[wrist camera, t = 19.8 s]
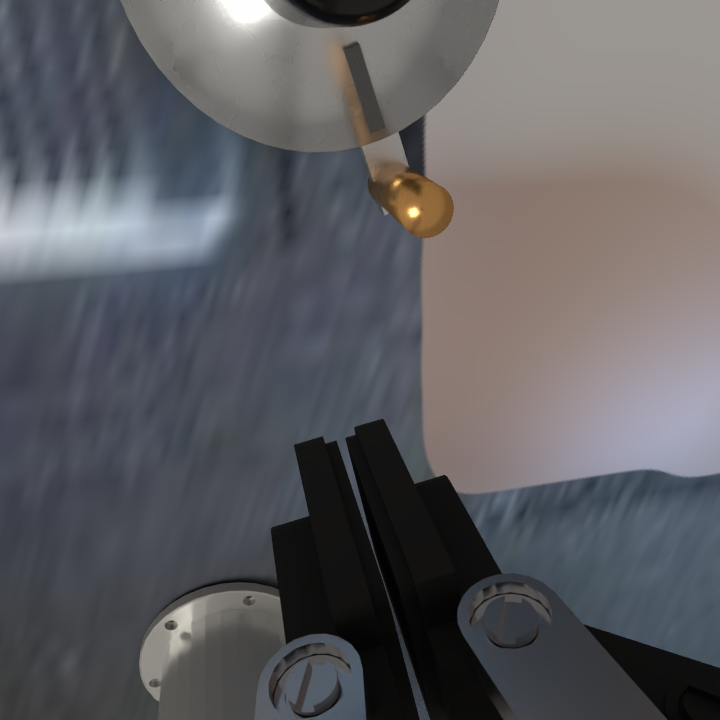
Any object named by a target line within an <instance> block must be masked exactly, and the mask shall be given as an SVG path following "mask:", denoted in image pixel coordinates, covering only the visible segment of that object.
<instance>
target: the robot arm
mask: <svg viewBox="0 0 720 720" xmlns="http://www.w3.org/2000/svg"><path fill="white" fill-rule="evenodd" d="M355 433H356V435H354V436H350V437H347V438H346V443H347V447H348V451H349V455H350V458H351V462H352V466H353V470H354V474H355V478H356V481H357V485H358V489H359V493H360V497H361V501H362V504H363V508H364V512H365V516H366V520H367V523H368V527H369V531H370V535H371V539H372V543H373V546H374V550H375V554H376V557H377V561H378V564H379V567H380V570H381V573H382V576H383V579H384V582H385V585H386V588H387V591H388V594H389V597H390V600H391V603H392V606H393V609H394V612H395V615H396V618H397V621H398V624H399V627H400V630H401V633H402V636H403V639H404V642H405V645H406V648H407V651H408V654H409V657H410V660H411V663H412V666H413V669H414V672H415V675H416V678H417V681H418V684H419V687H420V690H421V693H422V696H423V699H424V702H425V705H426V708H427V711H428V714H429V717H430V720H720V668H718V667H715V666H712V665H708V664H705V663H702V662H699V661H696V660H693V659H690V658H687V657H683V656H680V655H677V654H674V653H671V652H668V651H665V650H662V649H659V648H655V647H652V646H649V645H646V644H643V643H640V642H637V641H634V640H631V639H627V638H624V637H621V636H618V635H615V634H612V633H609V632H606V631H602V630H599V629H596V628H593V627H590V626H587V625H584V624H582V623H581V622H580V620H579V619H578V618H577V617H576V616H575V615H574V614H573V612H572V611H571V610H570V609H569V608H568V607H567V606H566V605H565V603H564V602H563V601H562V600H561V599H560V598H559V597H558V596H557V594H556V593H555V592H554V591H553V590H551V589H550V588H549V587H548V586H547V585H545V584H544V583H543V582H541V581H539V580H536V579H534V578H532V577H530V576H525V575H519V574H514V573H512V574H502V573H501V571H500V569H499V568H498V566H497V564H496V562H495V560H494V559H493V557H492V555H491V553H490V552H489V550H488V548H487V546H486V544H485V543H484V541H483V539H482V537H481V535H480V534H479V532H478V530H477V528H476V527H475V525H474V523H473V521H472V519H471V518H470V516H469V514H468V512H467V510H466V509H465V507H464V505H463V503H462V502H461V500H460V498H459V496H458V494H457V493H456V491H455V489H454V487H453V486H452V484H451V482H450V480H449V479H448V477H447V476H445V475H443V476H439V477H436V478H433V479H430V480H426V481H423V482H420V483H416V484H414V482H413V480H412V478H411V476H410V474H409V472H408V469H407V467H406V465H405V463H404V461H403V459H402V457H401V455H400V453H399V451H398V448H397V446H396V444H395V442H394V440H393V438H392V436H391V434H390V432H389V429H388V427H387V425H386V423H385V421H384V419H380V420H377V421H373V422H370V423H366V424H363V425H360V426H356V427H355ZM294 447H295V452H296V457H297V461H298V466H299V470H300V475H301V479H302V484H303V488H304V493H305V498H306V502H307V507H308V511H309V516H308V517H305V518H301V519H298V520H295V521H292V522H288V523H285V524H282V525H278V526H275V527H272V528H271V535H272V543H273V551H274V558H275V566H276V573H277V581H278V588H279V590H278V589H276V588H273V587H271V586H266V585H261V584H257V583H244V582H235V583H224V584H218V585H213V586H209V587H205V588H202V589H199V590H197V591H194V592H192V593H189V594H187V595H185V596H183V597H182V598H180V599H178V600H176V601H175V602H173V603H171V604H170V605H169V606H168V607H167V608H165V609H164V610H163V611H162V612H161V613H160V614H159V615H158V616H157V617H156V618H155V619H154V621H153V622H152V623H151V624H150V626H149V628H148V630H147V631H146V633H145V635H144V637H143V641H142V645H141V649H140V661H139V668H140V675H141V679H142V681H143V683H144V686H145V687H146V689H147V690H148V691H149V693H150V694H151V695H152V696H153V697H154V698H155V699H156V700H157V701H158V702H159V711H158V720H419V716H418V712H417V708H416V704H415V700H414V696H413V693H412V689H411V685H410V681H409V677H408V673H407V670H406V666H405V662H404V658H403V654H402V650H401V647H400V643H399V639H398V635H397V631H396V627H395V623H394V620H393V616H392V612H391V608H390V604H389V601H388V597H387V594H386V591H385V587H384V584H383V581H382V578H381V575H380V572H379V569H378V565H377V562H376V559H375V556H374V553H373V550H372V547H371V544H370V541H369V538H368V535H367V532H366V529H365V526H364V523H363V520H362V517H361V514H360V511H359V508H358V505H357V502H356V499H355V496H354V493H353V490H352V487H351V483H350V480H349V477H348V474H347V471H346V468H345V465H344V462H343V459H342V456H341V453H340V450H339V447H338V444H337V441H333V442H330V443H327V444H325V442H324V439H323V436H322V437H319V438H315V439H312V440H309V441H305V442H302V443H298V444H295V445H294Z"/></svg>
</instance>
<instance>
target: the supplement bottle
mask: <svg viewBox="0 0 720 720" xmlns="http://www.w3.org/2000/svg"><path fill="white" fill-rule="evenodd" d="M263 1H264V2H265V3H266V4H267V5H268V6H269V7H270V8H271V9H272V10H273V11H274V12H276V13H277V14H278V15H280V16H281V17H283V18H285V19H287V20H289V21H291V22H293V23H296V24H299V25H302V26H306V27H313V28H340V27H355V26H363V25H367V24H371V23H374V22H377V21H380V20H382V19H384V18H386V17H388V16H390V15H392V14H393V13H395V12H397V11H398V10H399V9H401V8H402V7H403V6H405V5H406V4H407V3H408V2H409V1H410V0H263Z"/></svg>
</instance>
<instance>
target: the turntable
mask: <svg viewBox="0 0 720 720" xmlns="http://www.w3.org/2000/svg"><path fill="white" fill-rule="evenodd" d="M121 2H122V5H123V7H124V10H125V12H126V15H127V17H128V19H129V21H130V23H131V24H132V26H133V28H134V30H135V32H136V34H137V36H138V38H139V40H140V42H141V43H142V45H143V46H144V48H145V49H146V51H147V52H148V54H149V55H150V56H151V58H152V59H153V61H154V62H155V64H156V65H157V67H158V68H159V69H160V70H161V71H162V73H163V74H164V75H165V76H166V77H167V78H168V80H169V81H170V82H171V83H172V84H173V85H174V87H175V88H176V89H177V90H178V91H179V92H180V93H182V94H183V95H184V96H185V97H186V98H187V99H188V100H189V101H190V102H191V103H192V104H194V105H195V106H196V107H197V108H198V109H200V110H201V111H202V112H204V113H205V114H207V115H208V116H209V117H211V118H212V119H214V120H215V121H216V122H218V123H219V124H221V125H223V126H225V127H227V128H229V129H230V130H232V131H234V132H236V133H238V134H240V135H242V136H244V137H247V138H249V139H252V140H255V141H257V142H260V143H263V144H265V145H269V146H274V147H278V148H282V149H286V150H293V151H303V152H335V151H341V150H347V149H352V148H359V151H360V154H361V157H362V160H363V163H364V166H365V169H366V172H367V175H368V190H369V193H370V195H371V196H372V198H373V199H374V200H375V201H376V202H377V205H378V208H379V211H380V212H381V213H382V214H384V215H387V214H389V213H390V214H391V215H392V216H393V217H394V218H395V219H396V220H397V221H398V222H399V223H400V224H402V225H403V226H404V227H405V228H406V229H407V230H408V231H409V232H410V233H412V234H413V235H415V236H418V237H422V238H429V237H433V236H435V235H438V234H439V233H441V232H442V231H443V230H445V228H446V227H447V226H448V225H449V223H450V221H451V219H452V216H453V209H454V207H453V201H452V198H451V196H450V194H449V193H448V192H447V191H446V190H445V189H444V188H443V187H441V186H439V185H438V184H436V183H434V182H433V181H431V180H429V179H428V178H426V177H424V176H423V175H421V174H419V173H418V172H416V171H414V170H413V169H411V168H409V166H408V162H407V159H406V156H405V152H404V149H403V146H402V142H401V139H400V136H399V131H401V130H403V129H404V128H406V127H407V126H409V125H410V124H412V123H413V122H415V121H416V120H418V119H420V118H421V117H422V116H424V115H425V114H426V113H427V112H428V111H429V110H430V109H432V108H433V107H434V106H435V105H436V104H438V103H439V102H440V101H441V100H442V98H444V97H445V95H446V94H447V93H448V92H449V91H450V90H451V89H452V88H453V87H454V86H455V85H456V83H457V82H458V81H459V79H460V78H461V76H462V75H463V74H464V72H465V71H466V70H467V68H468V67H469V65H470V64H471V63H472V61H473V59H474V57H475V55H476V54H477V52H478V50H479V48H480V46H481V45H482V43H483V41H484V39H485V37H486V34H487V32H488V29H489V27H490V25H491V22H492V20H493V17H494V15H495V12H496V9H497V5H498V2H499V0H410V1H409V2H408V3H407V4H406V5H405V6H403V7H402V8H401V9H399V10H398V11H397V12H395V13H393V14H392V15H390V16H388V17H386V18H384V19H382V20H380V21H377V22H374V23H371V24H367V25H363V26H355V27H340V28H313V27H306V26H302V25H299V24H296V23H293V22H291V21H289V20H287V19H285V18H283V17H281V16H280V15H278V14H277V13H276V12H274V11H273V10H272V9H271V8H270V7H269V6H268V5H267V4H266V3H265V2H264V1H263V0H121Z"/></svg>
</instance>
